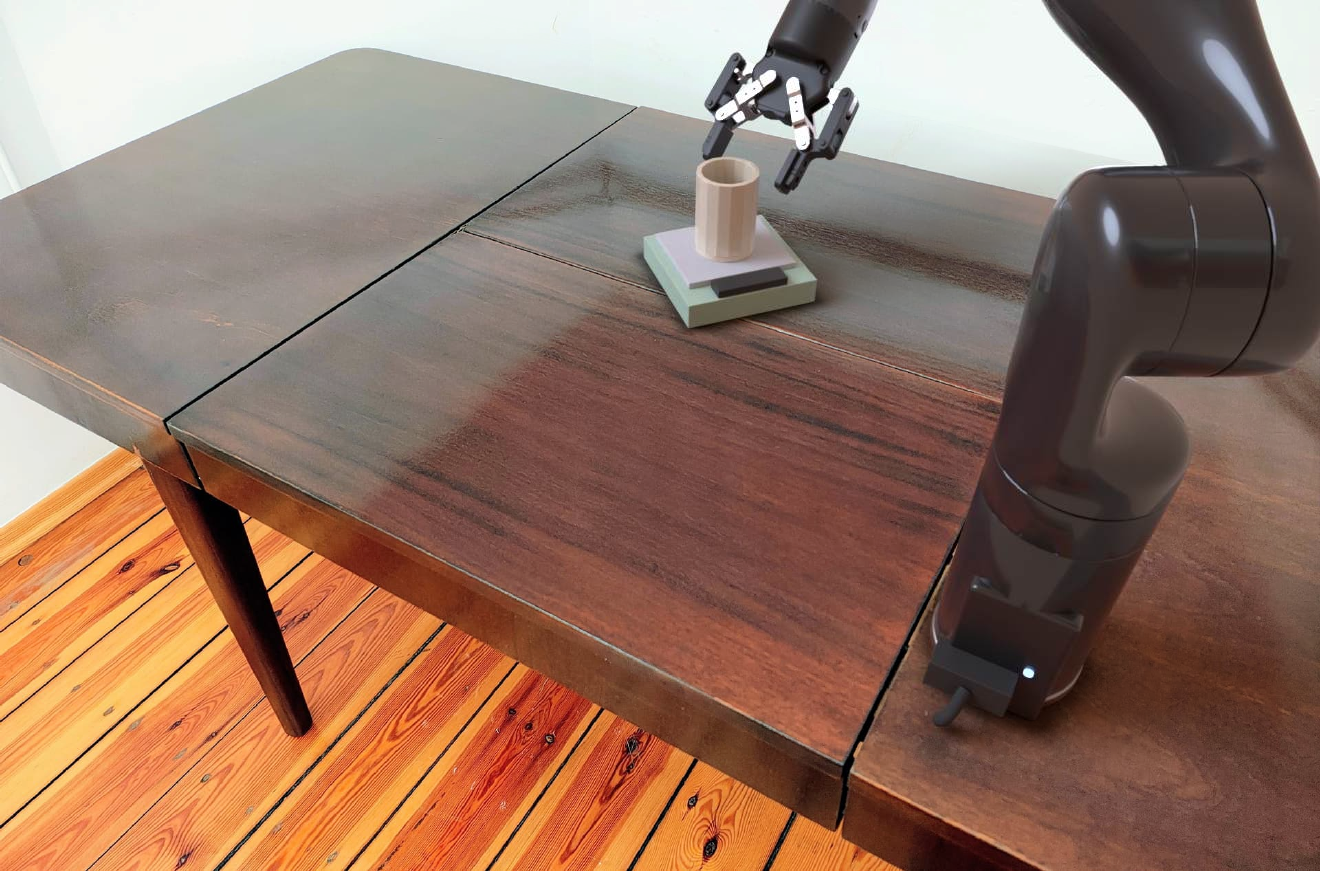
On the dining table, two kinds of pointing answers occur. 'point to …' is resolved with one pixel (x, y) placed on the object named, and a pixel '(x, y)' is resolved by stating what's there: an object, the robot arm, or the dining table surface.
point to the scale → (728, 276)
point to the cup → (726, 208)
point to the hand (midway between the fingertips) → (743, 176)
